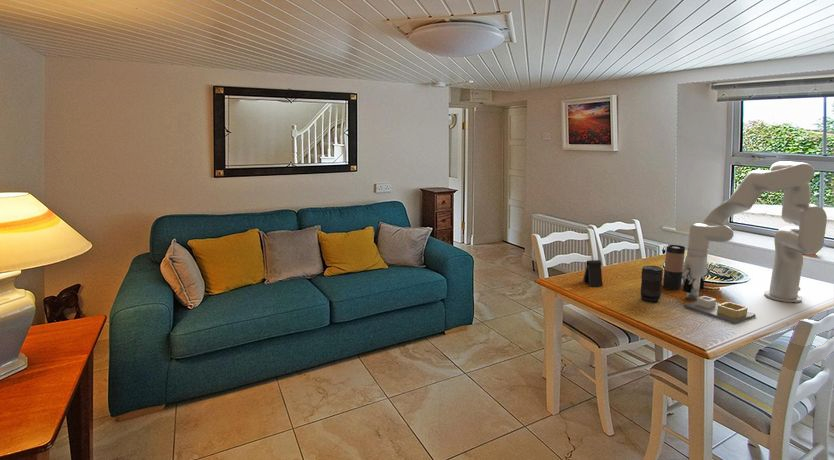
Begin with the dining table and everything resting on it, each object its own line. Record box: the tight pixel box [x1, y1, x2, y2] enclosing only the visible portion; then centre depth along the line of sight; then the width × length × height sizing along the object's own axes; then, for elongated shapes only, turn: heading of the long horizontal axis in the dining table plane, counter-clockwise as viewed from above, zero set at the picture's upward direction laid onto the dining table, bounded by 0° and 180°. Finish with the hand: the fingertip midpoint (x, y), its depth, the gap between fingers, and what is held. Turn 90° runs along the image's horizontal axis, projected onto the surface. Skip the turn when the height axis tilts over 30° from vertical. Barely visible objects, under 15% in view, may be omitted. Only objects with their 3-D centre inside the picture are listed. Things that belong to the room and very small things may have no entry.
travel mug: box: [662, 244, 686, 291], centre depth 206 cm, size 8×8×20 cm
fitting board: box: [683, 295, 757, 325], centre depth 178 cm, size 14×20×4 cm
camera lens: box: [640, 265, 664, 304], centre depth 191 cm, size 8×8×15 cm
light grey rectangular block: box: [686, 276, 701, 300], centre depth 193 cm, size 4×4×10 cm
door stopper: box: [582, 259, 604, 288], centre depth 214 cm, size 9×6×12 cm, turn 3°
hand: (693, 290), depth 194 cm, fingers open, 8 cm apart
